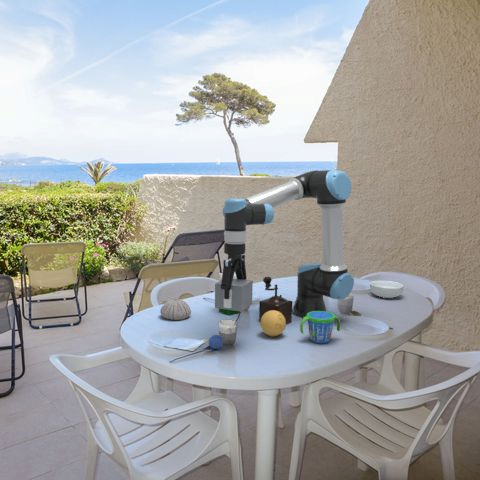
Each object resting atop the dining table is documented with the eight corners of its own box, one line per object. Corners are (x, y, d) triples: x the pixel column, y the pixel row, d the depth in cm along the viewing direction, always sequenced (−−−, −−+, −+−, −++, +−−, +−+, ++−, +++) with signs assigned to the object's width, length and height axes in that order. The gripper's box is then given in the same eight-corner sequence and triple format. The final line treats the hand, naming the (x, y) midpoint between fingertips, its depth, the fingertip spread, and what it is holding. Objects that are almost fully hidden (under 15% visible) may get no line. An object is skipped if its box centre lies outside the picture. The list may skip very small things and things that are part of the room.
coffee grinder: (293, 322, 190) (295, 281, 188) (277, 327, 183) (278, 285, 180) (266, 314, 201) (267, 275, 199) (249, 319, 193) (250, 278, 191)
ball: (224, 347, 160) (225, 333, 160) (219, 352, 156) (219, 338, 155) (212, 345, 162) (212, 332, 161) (206, 350, 157) (206, 336, 157)
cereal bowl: (362, 294, 239) (363, 281, 238) (386, 291, 246) (387, 279, 245) (385, 302, 224) (385, 288, 223) (409, 299, 231) (410, 286, 230)
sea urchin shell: (173, 311, 204) (173, 294, 203) (197, 316, 197) (197, 298, 196) (154, 318, 193) (153, 300, 192) (178, 324, 186) (178, 305, 185)
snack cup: (303, 346, 163) (304, 319, 161) (296, 336, 173) (297, 310, 172) (344, 345, 164) (345, 318, 163) (335, 335, 175) (336, 310, 173)
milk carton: (231, 308, 209) (231, 266, 207) (243, 312, 202) (244, 269, 200) (216, 311, 204) (216, 268, 201) (228, 316, 197) (229, 272, 194)
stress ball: (258, 339, 171) (271, 329, 164) (253, 316, 176) (266, 305, 169) (280, 340, 176) (293, 329, 169) (274, 317, 181) (287, 306, 174)
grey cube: (252, 304, 162) (252, 280, 161) (241, 311, 153) (241, 286, 152) (226, 300, 166) (227, 277, 165) (214, 307, 157) (214, 283, 156)
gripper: (237, 238, 168) (236, 295, 171) (210, 245, 147) (210, 310, 150) (256, 239, 165) (254, 297, 168) (231, 247, 145) (230, 313, 148)
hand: (233, 303), depth 159 cm, fingers closed on grey cube, 10 cm apart
